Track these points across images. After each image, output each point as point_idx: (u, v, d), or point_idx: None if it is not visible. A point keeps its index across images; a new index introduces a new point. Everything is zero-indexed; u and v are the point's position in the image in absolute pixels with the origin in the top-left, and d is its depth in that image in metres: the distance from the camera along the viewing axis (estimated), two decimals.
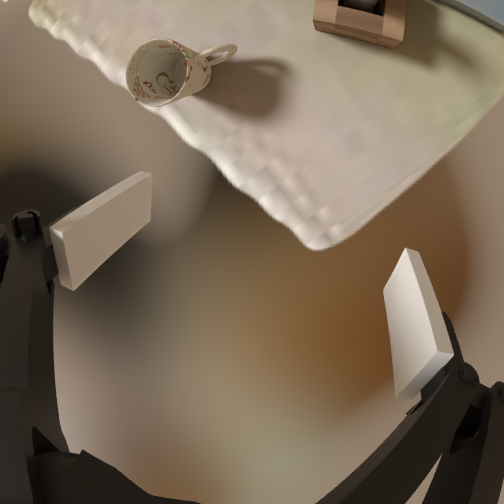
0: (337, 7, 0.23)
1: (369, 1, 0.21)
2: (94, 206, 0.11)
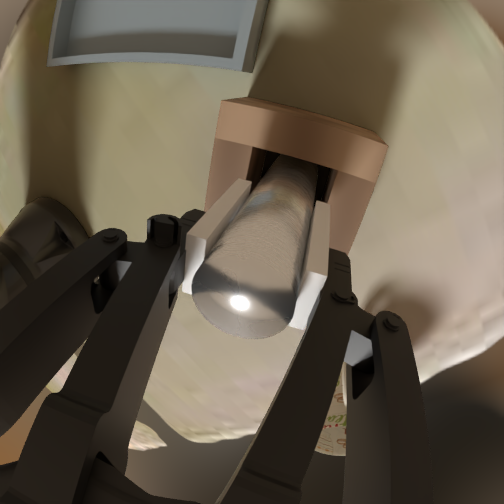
0: None
1: (312, 206, 0.16)
2: (221, 213, 0.12)
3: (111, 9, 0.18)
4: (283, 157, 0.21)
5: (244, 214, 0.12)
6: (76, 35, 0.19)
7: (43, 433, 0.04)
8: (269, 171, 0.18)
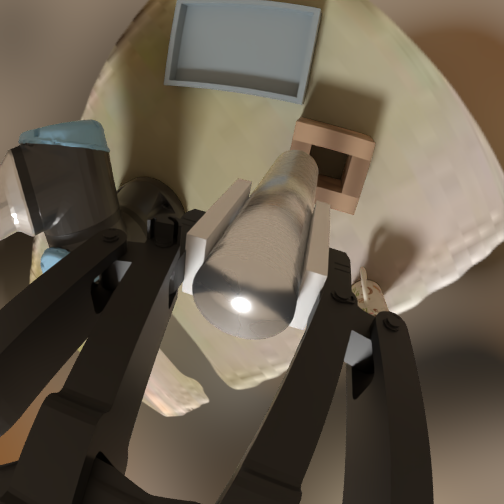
0: (343, 193, 0.37)
1: (312, 206, 0.16)
2: (221, 213, 0.12)
3: (212, 53, 0.36)
4: (283, 157, 0.21)
5: (244, 214, 0.12)
6: (183, 65, 0.37)
7: (43, 433, 0.04)
8: (269, 171, 0.18)
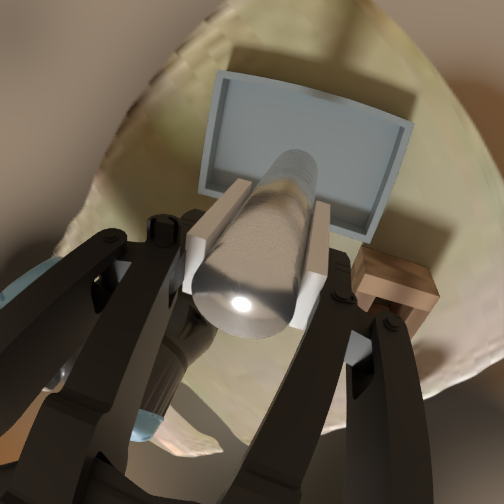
0: None
1: (312, 205, 0.16)
2: (221, 213, 0.12)
3: (263, 156, 0.32)
4: (283, 156, 0.21)
5: (244, 213, 0.12)
6: (222, 166, 0.33)
7: (43, 433, 0.04)
8: (269, 170, 0.18)
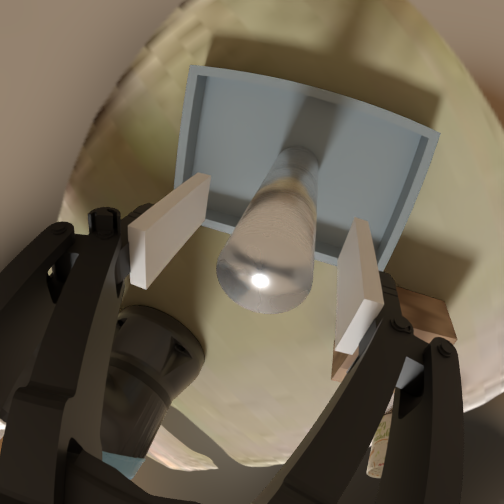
0: None
1: (317, 196, 0.18)
2: (168, 206, 0.12)
3: (250, 172, 0.26)
4: (286, 152, 0.22)
5: (260, 200, 0.13)
6: None
7: (17, 426, 0.03)
8: (275, 165, 0.19)
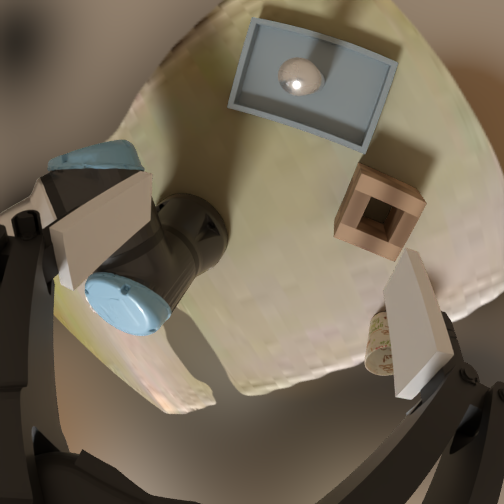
0: (389, 242, 0.40)
1: (322, 78, 0.29)
2: (94, 206, 0.11)
3: None
4: None
5: None
6: (248, 89, 0.39)
7: None
8: None
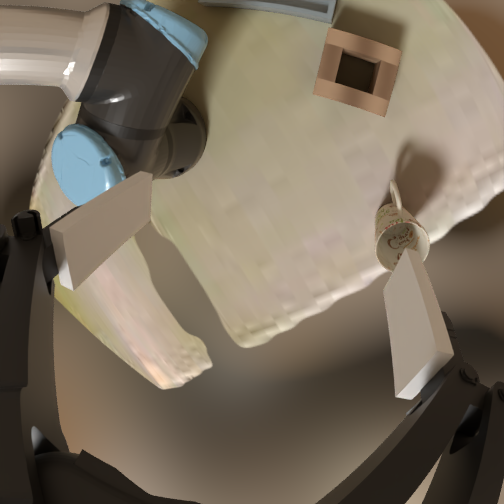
0: (374, 95, 0.33)
1: None
2: (94, 206, 0.11)
3: None
4: None
5: None
6: None
7: None
8: None
